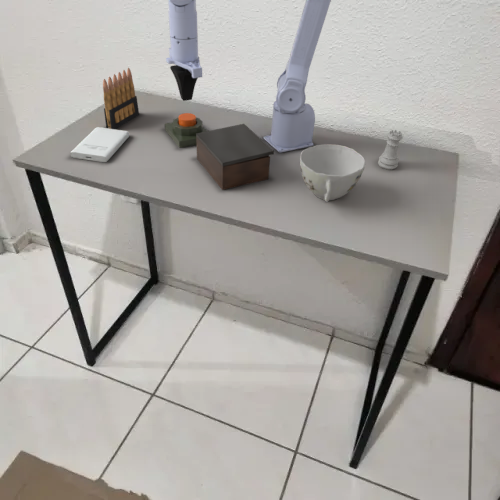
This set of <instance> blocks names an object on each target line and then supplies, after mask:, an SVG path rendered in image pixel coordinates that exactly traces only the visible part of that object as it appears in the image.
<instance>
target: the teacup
mask: <svg viewBox="0 0 500 500" xmlns="http://www.w3.org/2000/svg"><path fill="white" fill-rule="evenodd" d="M299 165H300V166H299V167H300V173H301V177H302V179H303V181H304V183H305V186H306V187H307V188H308V189H309V191H310V192H311V193H312V194H314V195H315V196H316V197H317V198H318V199H320V200H324V201H325V202H327V203H328V202H329V201H336V200H337V199H339V198H341V197H343V196H345V195H347V194H348V193H350V192H351V191H352V190H353V189H354V188H355V187H356V185H357V184H358V182H359V181H360V179H361V177H362V175H363V172H364V170H365V166H366V159H365V158H364V156H363V155H362V154H361V153H359V152H357V151H356V150H355V149H353V148H352V147H351V148H350V147H348V146H346V145H340V144H336V143H335V144H330V143H329V144H327V143H325V144H317V145H313V146H310V147H306V148H305V149H303V150H302V151H301V153H300V156H299Z"/></svg>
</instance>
